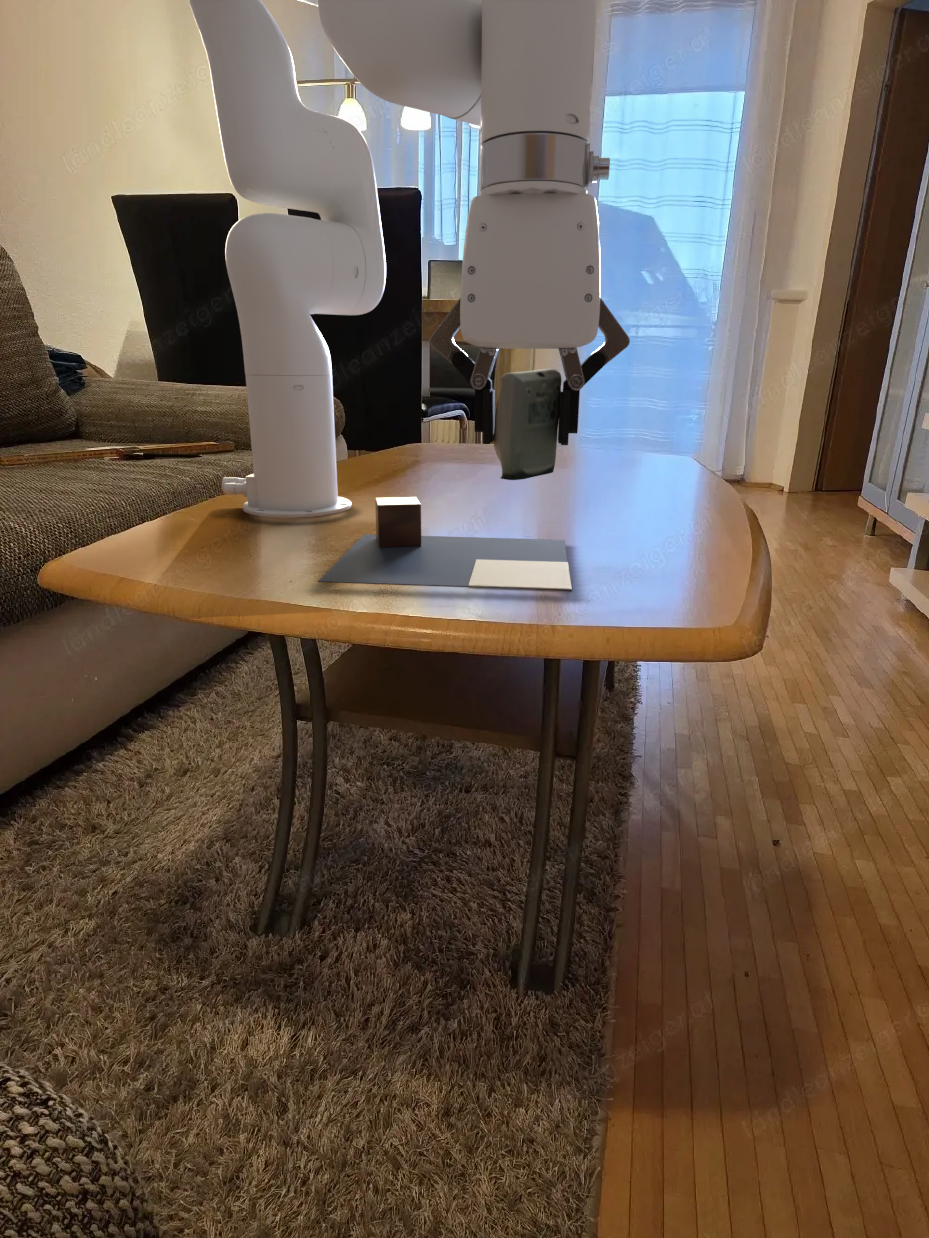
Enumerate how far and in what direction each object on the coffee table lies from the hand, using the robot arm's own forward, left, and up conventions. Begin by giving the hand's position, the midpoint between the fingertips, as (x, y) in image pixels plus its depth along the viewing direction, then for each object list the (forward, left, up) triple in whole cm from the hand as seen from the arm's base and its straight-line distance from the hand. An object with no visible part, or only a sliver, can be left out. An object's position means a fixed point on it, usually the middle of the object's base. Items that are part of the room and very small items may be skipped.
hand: (525, 440), depth 59 cm
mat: (-6, +5, -12) cm, 14 cm away
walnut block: (-12, +10, -11) cm, 19 cm away
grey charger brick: (0, 0, -3) cm, 3 cm away
